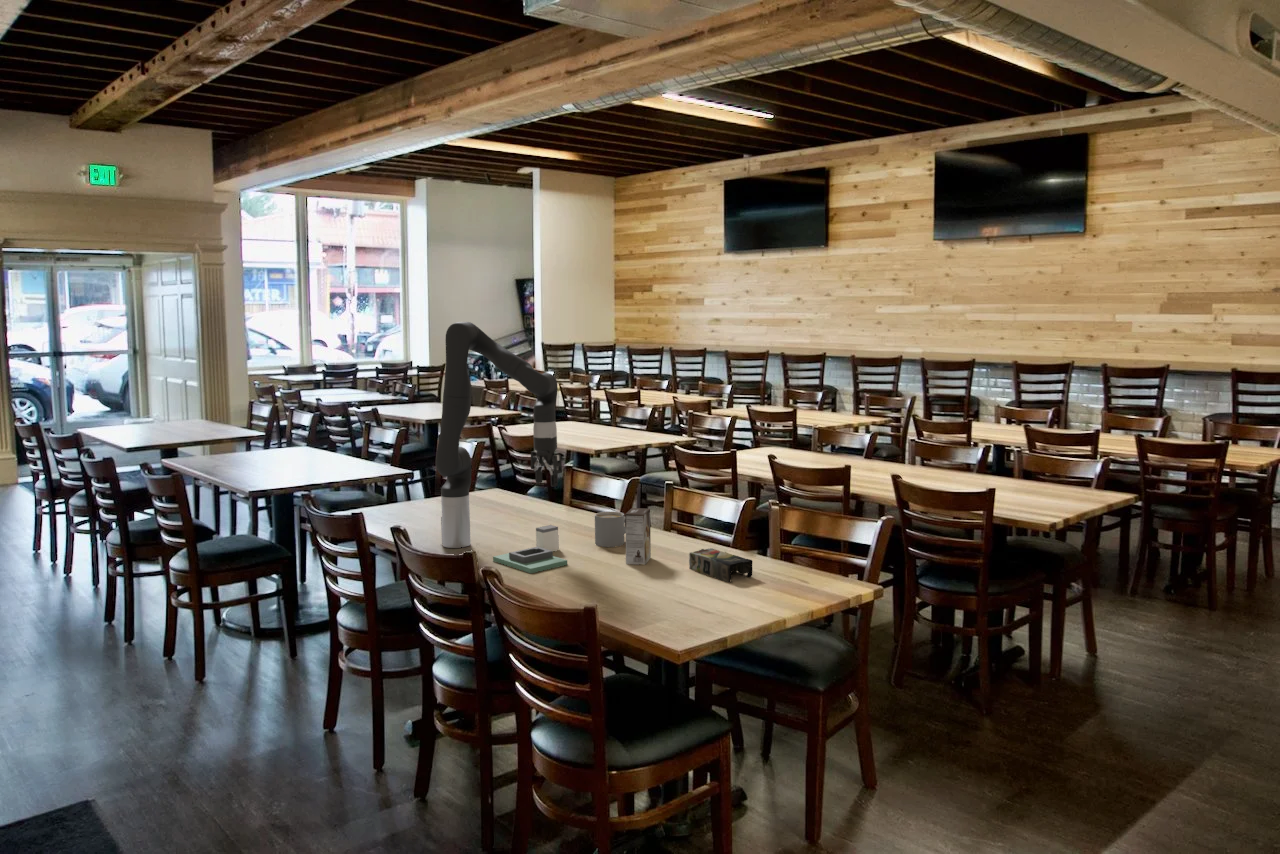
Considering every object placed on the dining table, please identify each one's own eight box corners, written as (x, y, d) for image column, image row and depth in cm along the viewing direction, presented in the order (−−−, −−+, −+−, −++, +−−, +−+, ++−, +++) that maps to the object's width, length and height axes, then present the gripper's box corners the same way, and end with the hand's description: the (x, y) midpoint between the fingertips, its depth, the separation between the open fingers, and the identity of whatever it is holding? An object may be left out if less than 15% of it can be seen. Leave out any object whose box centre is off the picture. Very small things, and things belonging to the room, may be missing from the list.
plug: (536, 551, 320) (535, 527, 319) (553, 547, 324) (552, 524, 323) (543, 553, 317) (543, 529, 316) (560, 550, 321) (560, 526, 320)
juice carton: (685, 568, 298) (685, 549, 297) (710, 564, 304) (710, 545, 303) (728, 584, 282) (728, 564, 281) (753, 579, 287) (754, 559, 287)
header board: (493, 561, 308) (492, 550, 308) (529, 553, 318) (528, 542, 317) (530, 573, 294) (530, 562, 293) (567, 564, 303) (567, 553, 302)
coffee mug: (604, 548, 323) (603, 519, 322) (589, 542, 331) (589, 513, 330) (638, 543, 330) (638, 514, 328) (623, 537, 338) (623, 509, 337)
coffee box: (631, 556, 312) (631, 507, 310) (651, 557, 311) (650, 508, 309) (625, 564, 303) (624, 513, 301) (645, 565, 302) (645, 514, 300)
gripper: (523, 434, 318) (524, 483, 320) (548, 438, 308) (549, 489, 310) (542, 432, 323) (543, 480, 325) (567, 436, 312) (568, 485, 314)
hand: (546, 484), depth 317 cm, fingers open, 8 cm apart
